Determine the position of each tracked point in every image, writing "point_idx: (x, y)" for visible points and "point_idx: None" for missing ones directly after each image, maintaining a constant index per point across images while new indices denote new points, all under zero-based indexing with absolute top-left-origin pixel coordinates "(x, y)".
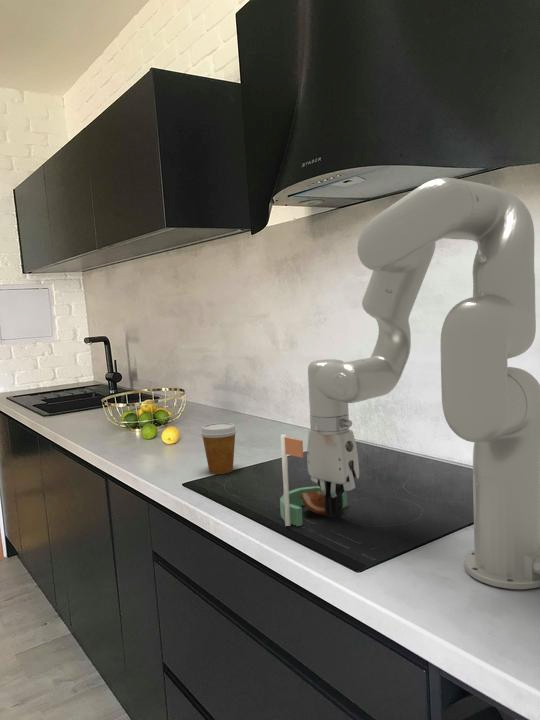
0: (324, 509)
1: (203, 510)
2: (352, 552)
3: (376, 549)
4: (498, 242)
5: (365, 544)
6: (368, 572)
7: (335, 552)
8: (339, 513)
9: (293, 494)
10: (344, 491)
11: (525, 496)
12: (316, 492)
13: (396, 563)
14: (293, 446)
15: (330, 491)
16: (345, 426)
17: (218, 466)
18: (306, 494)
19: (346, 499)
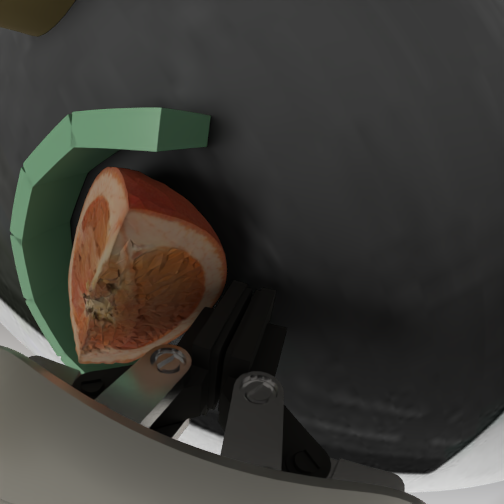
0: (192, 318)
1: (14, 335)
2: (410, 446)
3: (464, 416)
4: None
5: (437, 412)
6: (446, 467)
7: (372, 457)
8: (272, 308)
9: (36, 281)
10: (302, 430)
11: None
12: (96, 323)
13: (496, 431)
14: None
15: (195, 407)
16: None
17: None
18: (91, 355)
19: (191, 113)
